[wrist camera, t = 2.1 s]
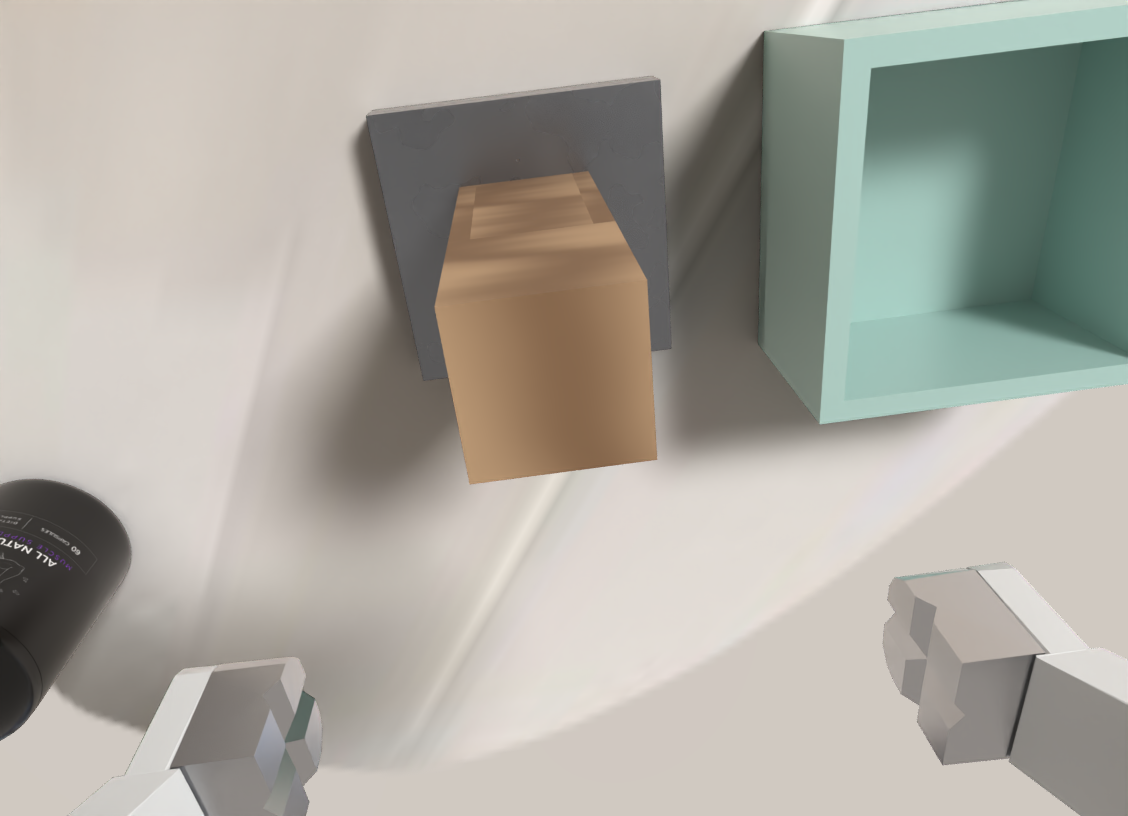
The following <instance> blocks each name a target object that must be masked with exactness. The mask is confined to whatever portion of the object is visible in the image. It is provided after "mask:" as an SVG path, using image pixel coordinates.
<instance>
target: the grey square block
mask: <svg viewBox="0 0 1128 816" xmlns="http://www.w3.org/2000/svg"><path fill="white" fill-rule="evenodd" d="M366 119H367V124H368V128H369V133H370V137H371V142H372V147H373V151H374V156H375V160H376V165H377V169H378V174H379V179H380V183H381V188H382V192H383V197H384V202H385V206H386V211H387V215H388V220H389V225H390V229H391V234H392V238H393V243H394V247H395V252H396V257H397V261H398V266H399V270H400V275H401V280H402V284H403V289H404V293H405V298H406V303H407V307H408V312H409V316H410V321H411V325H412V330H413V335H414V339H415V344H416V348H417V353H418V358H419V362H420V367H421V371H422V376H423V380H424V381H426V380H433V379H441V378H448V373H447V368H446V363H445V358H444V353H443V348H442V343H441V338H440V333H439V328H438V323H437V318H436V312H435V302H436V297H437V292H438V288H439V283H440V278H441V273H442V268H443V264H444V259H445V254H446V249H447V245H448V240H449V235H450V230H451V225H452V221H453V216H454V211H455V206H456V201H457V197H458V192H459V187H465V186H473V185H481V184H489V183H497V182H505V181H513V180H521V179H529V178H537V177H545V176H553V175H561V174H569V173H577V172H585V171H589V173H590V175H591V177H592V179H593V181H594V182H595V184H596V186H597V188H598V190H599V192H600V194H601V195H602V197H603V199H604V201H605V203H606V205H607V207H608V208H609V210H610V212H611V214H612V216H613V218H614V219H615V221H616V223H617V225H618V227H619V229H620V231H621V232H622V234H623V236H624V238H625V240H626V242H627V244H628V245H629V247H630V249H631V251H632V253H633V255H634V257H635V258H636V260H637V262H638V264H639V266H640V268H641V270H642V271H643V273H644V275H645V277H646V279H647V287H648V305H649V323H650V341H651V351H658V350H665V349H671V326H670V301H669V277H668V253H667V229H666V205H665V181H664V157H663V132H662V108H661V84H660V79H658V78H656V77H654V76H647V77H639V78H631V79H623V80H615V81H606V82H598V83H590V84H582V85H574V86H566V87H558V88H549V89H541V90H533V91H525V92H517V93H509V94H501V95H492V96H484V97H476V98H468V99H460V100H452V101H444V102H436V103H427V104H419V105H411V106H403V107H395V108H387V109H379V110H372V111H371V112H370V113H369V114H367V115H366Z"/></svg>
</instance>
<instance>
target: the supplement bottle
mask: <svg viewBox="0 0 1128 816" xmlns="http://www.w3.org/2000/svg"><path fill="white" fill-rule="evenodd" d="M130 560H131V547H130V542H129V538H128V535H127V533H126V531H125V529H124V527H123V525H122V523H121V522H120V520H119V519H118V518H117V516H116V515H115V514H114V513H113V512H112V511H111V510H110V509H109V508H108V507H107V506H106V505H105V504H103V503H102V502H101V501H100V500H98V499H97V498H95V497H94V496H92V495H90V494H89V493H87V492H85V491H83V490H81V489H78V488H76V487H74V486H71V485H68V484H64V483H61V482H56V481H51V480H43V479H23V480H16V481H11V482H7V483H3V484H1V485H0V741H1V740H2V739H4V738H6V737H7V736H9V735H10V734H12V733H14V732H15V731H16V730H17V729H18V728H20V727H21V726H22V725H23V724H24V723H25V722H26V721H27V720H28V718H29V717H30V715H31V714H32V713H33V712H34V710H35V709H36V708H37V706H38V705H39V703H40V702H41V701H42V699H43V698H44V696H45V695H46V693H47V692H48V690H49V689H50V687H51V686H52V684H53V683H54V681H55V680H56V679H57V677H58V676H59V674H60V673H61V671H62V670H63V668H64V667H65V665H66V664H67V662H68V661H69V659H70V658H71V657H72V655H73V654H74V652H75V651H76V649H77V648H78V646H79V645H80V643H81V642H82V640H83V639H84V637H85V636H86V635H87V633H88V632H89V630H90V629H91V627H92V626H93V624H94V623H95V621H96V620H97V618H98V617H99V615H100V614H101V612H102V611H103V610H104V608H105V607H106V605H107V604H108V602H109V601H110V599H111V598H112V596H113V595H114V593H115V592H116V590H117V589H118V587H119V586H120V584H121V583H122V581H123V579H124V577H125V575H126V574H127V571H128V569H129V565H130Z"/></svg>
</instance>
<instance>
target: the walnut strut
mask: <svg viewBox="0 0 1128 816" xmlns="http://www.w3.org/2000/svg"><path fill="white" fill-rule="evenodd" d="M435 312H436V318H437V323H438V328H439V333H440V338H441V343H442V348H443V353H444V358H445V363H446V368H447V373H448V378H449V383H450V388H451V393H452V398H453V403H454V408H455V413H456V418H457V423H458V428H459V433H460V438H461V443H462V448H463V453H464V458H465V463H466V468H467V473H468V478H469V483H470V484H476V483H484V482H492V481H499V480H507V479H514V478H522V477H529V476H537V475H545V474H552V473H560V472H567V471H575V470H582V469H590V468H598V467H605V466H613V465H620V464H628V463H636V462H643V461H651V460H657V449H656V431H655V413H654V395H653V377H652V359H651V341H650V323H649V305H648V287H647V279H646V277H645V275H644V273H643V271H642V270H641V268H640V266H639V264H638V262H637V260H636V258H635V257H634V255H633V253H632V251H631V249H630V247H629V245H628V244H627V242H626V240H625V238H624V236H623V234H622V232H621V231H620V229H619V227H618V225H617V223H616V221H615V219H614V218H613V216H612V214H611V212H610V210H609V208H608V207H607V205H606V203H605V201H604V199H603V197H602V195H601V194H600V192H599V190H598V188H597V186H596V184H595V182H594V181H593V179H592V177H591V175H590V173H589V171H585V172H577V173H569V174H561V175H553V176H545V177H537V178H529V179H521V180H513V181H505V182H497V183H489V184H481V185H473V186H465V187H459V192H458V197H457V201H456V206H455V211H454V216H453V221H452V225H451V230H450V235H449V240H448V245H447V249H446V254H445V259H444V264H443V268H442V273H441V278H440V283H439V288H438V292H437V297H436V302H435Z"/></svg>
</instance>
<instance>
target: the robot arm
mask: <svg viewBox="0 0 1128 816" xmlns="http://www.w3.org/2000/svg"><path fill="white" fill-rule="evenodd" d="M887 600H888V602H889V603H890V605H891V606H892V608H893V610H894V611H895V613H894V614H893V615H892V617H891V618H890V619H889V620H888V621H887V622H886V623H885V624H884V634H883V647H884V653H885V658H886V663H887V666H888V669H889V671H890V674H891V676H892V679H893V681H894V682H895V684H896V686H897V688H898V690H899V691H900V693H901V694H902V695H904V696H905V697H907V698H908V699H910V700H911V701H913V702H915V703H916V704H918V705H919V712H918V719H917V723H918V724H919V726H920V727H921V729H922V731H923V733H924V734H925V736H926V738H927V740H928V741H929V743H930V745H931V746H932V748H933V750H934V752H935V753H936V755H937V757H938V758H939V760H940V762H941V763H942V765H949V764H959V763H969V762H978V761H987V760H998V759H1007V758H1010V759H1009V762H1010V763H1011V764H1013V765H1014V766H1015V767H1016V768H1018V769H1019V770H1021V771H1022V772H1023V773H1024V774H1026V775H1027V776H1028V777H1030V778H1031V779H1032V780H1034V781H1035V782H1037V783H1038V784H1039V785H1040V786H1042V787H1043V788H1045V789H1046V790H1047V791H1048V792H1050V793H1051V794H1052V795H1054V796H1055V797H1056V798H1058V799H1059V800H1060V801H1062V802H1063V803H1064V804H1066V805H1067V806H1068V807H1070V808H1071V809H1072V810H1074V811H1075V812H1076V813H1078V814H1079V815H1080V816H1128V659H1125V658H1123V657H1121V656H1119V655H1117V654H1115V653H1113V652H1110V651H1108V650H1106V649H1104V648H1102V647H1100V648H1091V649H1090V648H1089V647H1088V646H1087V645H1086V644H1085V643H1084V642H1083V641H1082V639H1081V638H1080V637H1079V636H1078V635H1077V634H1076V633H1075V632H1074V631H1073V630H1072V629H1071V628H1070V626H1069V625H1068V624H1067V623H1066V622H1065V621H1064V620H1063V619H1062V618H1061V617H1060V616H1059V615H1058V614H1057V612H1056V611H1055V610H1054V609H1053V608H1052V607H1051V606H1050V605H1049V604H1048V603H1047V602H1046V601H1045V600H1044V599H1043V597H1042V596H1041V595H1040V594H1039V593H1038V592H1037V591H1036V590H1035V589H1034V588H1033V587H1032V586H1031V584H1030V583H1029V582H1028V581H1027V580H1026V579H1025V578H1024V577H1023V576H1022V575H1021V574H1020V573H1019V572H1018V570H1017V569H1016V568H1015V567H1014V566H1012V565H1010V564H1008V563H1006V562H1000V563H993V564H986V565H979V566H972V567H967V568H960V569H953V570H946V571H939V572H931V573H924V574H917V575H910V576H903V577H895V578H894V579H893V580H892V582H891V584H890V585H889V592H888V599H887ZM305 679H306V673H305V671H304V669H303V666H302V664H301V662H300V659H299V658H296V657H292V656H291V657H281V658H272V659H262V660H253V661H243V662H234V663H224V664H220V665H214V666H204V667H194V668H184V669H183V670H181V671H180V672H179V673H178V674H177V675H175V676H174V678H173V679H172V681H171V683H170V685H169V687H168V689H167V691H166V693H165V695H164V697H163V699H162V701H161V703H160V705H159V707H158V709H157V711H156V713H155V715H154V717H153V719H152V721H151V723H150V725H149V727H148V729H147V731H146V733H145V735H144V737H143V739H142V741H141V743H140V745H139V747H138V749H137V751H136V753H135V755H134V757H133V759H132V761H131V763H130V765H129V767H128V769H127V771H126V773H125V775H124V776H118V777H112V778H111V779H110V780H109V781H107V783H105V784H104V785H103V786H102V787H100V788H99V789H98V790H97V791H96V792H95V793H94V794H92V795H91V796H90V797H89V798H88V799H86V800H85V801H84V802H83V803H82V804H81V805H79V806H78V807H77V808H76V809H75V810H74V811H72V812H71V813H70V814H69V815H68V816H306V813H307V809H308V805H309V800H308V797H307V795H306V792H305V790H304V787H303V786H304V784H305V783H306V782H307V781H308V780H309V779H310V778H311V777H312V776H313V775H314V774H315V772H316V771H317V769H318V764H319V760H320V756H321V751H322V722H321V716H320V711H319V708H318V705H317V703H316V700H315V698H313V697H312V696H310V695H308V694H307V693H305V692H304V691H302V689H303V686H304V683H305Z"/></svg>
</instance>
